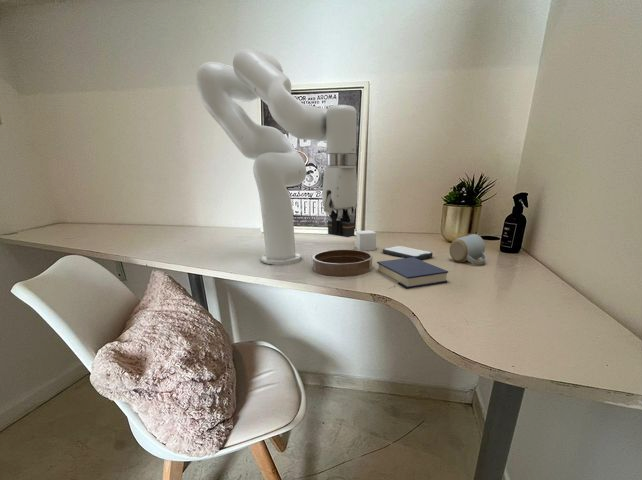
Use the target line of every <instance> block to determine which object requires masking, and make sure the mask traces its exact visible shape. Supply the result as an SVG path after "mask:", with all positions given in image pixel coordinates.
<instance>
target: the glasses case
mask: <svg viewBox="0 0 642 480" xmlns="http://www.w3.org/2000/svg"><path fill="white" fill-rule="evenodd" d="M355 227H356V222H353V221H350V222H347V221H342V235H341V236H340V237H344V238H350V237H351V238H352V237H354V236H355V234H356V228H355ZM327 235H331V236H333V235H332V220H328V221H327ZM336 236H337V237H339V236H338V235H336Z"/></svg>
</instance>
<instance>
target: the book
mask: <svg viewBox="0 0 642 480" xmlns="http://www.w3.org/2000/svg"><path fill="white" fill-rule="evenodd" d="M376 264H378V271H379V272H381V273H382V274H384V275H386V276H388V277H390V278H392V279H394V280H395V281H397V285H400V286H401V287H403V288H404V289H414V288H419V287H425V286H433V285H439V284H444V283H448V280H447V276H448V274H449V270H447V269H443V268H442V267H439V266H437V265H434V264H431V263H429V262H426V261H424V260H423V259H421V260H419V259H417V258H414V257H411V258H396V259H395V258H394V259H387V260H380V261H376Z"/></svg>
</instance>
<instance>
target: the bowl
mask: <svg viewBox="0 0 642 480" xmlns="http://www.w3.org/2000/svg"><path fill="white" fill-rule="evenodd" d="M373 256H374V255H372V253H370V252H368V251H366V250H365V251H360V250H359V249H348V248H347V249H342V248H341V249H330V250H324V251H319V252H316V253H314V254H313V255H312V270H313V271H314V272H315V273H317V274H318V275H323V276H329V277H353V276H354V277H355V276H361V275H364V274H367V273H370V272H371V271H372V270H373V265H374V263H373V260H374V259H373V258H374V257H373Z"/></svg>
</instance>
